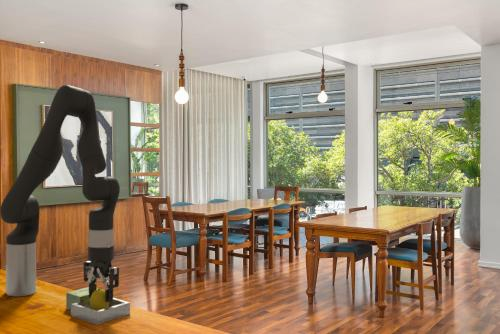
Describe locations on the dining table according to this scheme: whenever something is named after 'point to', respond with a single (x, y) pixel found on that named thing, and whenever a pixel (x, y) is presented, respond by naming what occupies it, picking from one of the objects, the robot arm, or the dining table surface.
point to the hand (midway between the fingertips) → (100, 298)
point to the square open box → (82, 310)
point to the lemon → (98, 300)
